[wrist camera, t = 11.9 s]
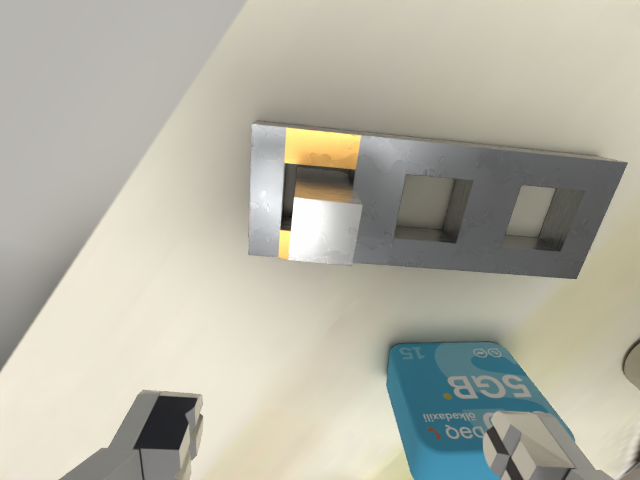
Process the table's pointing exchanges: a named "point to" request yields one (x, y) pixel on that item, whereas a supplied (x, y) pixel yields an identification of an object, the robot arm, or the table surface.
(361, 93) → the table surface
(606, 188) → the hole rail
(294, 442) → the table surface
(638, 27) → the table surface
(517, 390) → the data package
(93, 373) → the table surface
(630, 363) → the travel mug
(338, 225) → the steel peg
